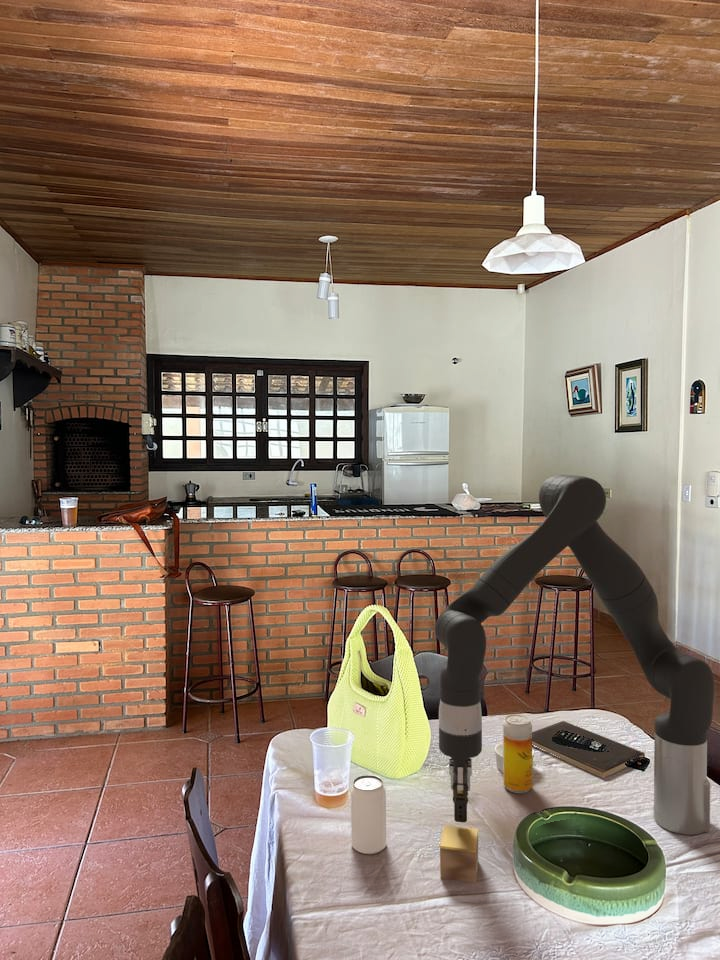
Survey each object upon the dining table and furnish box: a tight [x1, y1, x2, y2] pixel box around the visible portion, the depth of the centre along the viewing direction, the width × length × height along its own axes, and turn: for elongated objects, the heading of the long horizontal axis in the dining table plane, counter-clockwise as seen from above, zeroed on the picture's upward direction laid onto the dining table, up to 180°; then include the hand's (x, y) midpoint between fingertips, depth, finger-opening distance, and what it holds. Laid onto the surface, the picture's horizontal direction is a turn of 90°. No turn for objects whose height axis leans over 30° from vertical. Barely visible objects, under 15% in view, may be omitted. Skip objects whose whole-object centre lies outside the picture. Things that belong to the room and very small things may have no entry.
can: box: [350, 774, 387, 856], centre depth 126 cm, size 6×6×12 cm
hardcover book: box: [532, 720, 646, 779], centre depth 164 cm, size 16×23×2 cm
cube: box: [439, 824, 479, 884], centre depth 119 cm, size 6×6×6 cm
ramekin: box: [494, 742, 535, 773], centre depth 156 cm, size 9×9×4 cm
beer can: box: [502, 714, 533, 794], centre depth 147 cm, size 6×6×15 cm
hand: (460, 819), depth 121 cm, fingers closed
